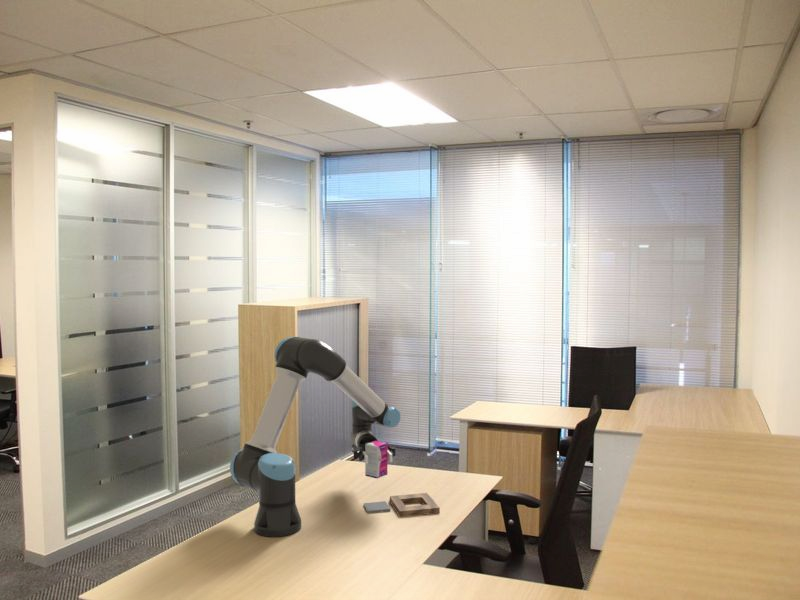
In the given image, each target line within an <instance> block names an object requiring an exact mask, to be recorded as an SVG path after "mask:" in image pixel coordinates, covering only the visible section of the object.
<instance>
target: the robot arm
mask: <svg viewBox="0 0 800 600" xmlns="http://www.w3.org/2000/svg"><path fill="white" fill-rule="evenodd" d="M274 361H275V363H276V364H275V367H274V369H275V372H276V376H275V379H274V381H273V384H272V386H271V389H270V391H269V394H268V396H267V399H266V402H265V403H264V404H265V405H264V407H263V409H262V411H261V415H260V416H259V419H258V422H257V424H256V426H255V429H254V432H253V434H252V437H251V439H250V440H248V441H246V442H245V443H244V445H243V448H242V449H240V450H238V452H235V453H234V455H233V457H232V458H231V460H230V464H229V472H230V475H231V478H232V479H233V480H234V482H236V484H239V485H240V486H242V487H244V488H248V489H251V490H253V491H255V492H258V500H259V501H258V502H259V503H258V504H259V505H258V510H257V513H256V515H255V519H254V523H253V525H254V527H253V529H254V532H255V533H256V534H257V535H260V536H263V537H270V538H271V537H272V538H275V537H285V536H289V535H292V534H295V533H297V532H298V531H300V530H301V529H302V517H301V516H300V513H299V510H298V507H297V504H296V471H297V470H296V465H295V460H294V458H292V457H291V456H290V455H288V454H285V453H278V452H277V450H276V447H277V444H278V441H279V438H280V437H281V434H282V431H283V428H284V425H285V423H286V420H287V418H288V415H289V412H290V409H291V407H292V404H293V402H294V399H295V397H296V393H297V391H298V389H299V386H300V384H301V383H302V382H305V381H306V380H307V377H308V375H309V373H312V374H314V375H318V376H320V377H322V378H323V379H324V380H325V381H327V382H332V383H333V384H334V385H335V386H336V387H337V388H338V389H339V390H341V391H342V392H343V393H344V395H346V396H347V397H348V398H350V400H352V401H351V402H352V404H351V406H352V407H351V415H352V416H351V417H352V420H351V421H352V425H351V427H352V428H351V431H350V436H351V437H350V438H351V440H352V442H353V443H354V444H351V453H353V459H358V461H359V462H362V461H363V462H364V463H366V464H368V455H367V454H366V453H365V444H367V443H370V442H373V441H379V440H378V439H377V437H376V436H375V435H374V434H373V432H372V431H373V425H376V426H381V427H384V428H390V429H391V428H396V427H398V425H399V423H400V422H401V418H402V417H401V412H400V409H398V408H396V407H394V406H389V405H388V404H387V403H386V402H385V401H384V400H383V399H382V398H381V397H379V395H377V393H376V392H374V391H373V390H372V388H370V386H369V385H367V383H365V382H364V381H363V380H362V379H361V378H360V377H359V376H358V375H357V374H356V373H355V372H354V371H353V370H352V369H351V368H350V367H349V366H347V360H345V359H344V358H343V357H342V355H340V354H339V353H338V352H337V351H336V350H335V349H333V347H331V346H330V345H329V344H327V343H326V342H324V341H322V340H319V339H316V338H315V339H314V338H306V337H300V336H290V337H286V338H284V339H282V340H281V341H280V342H278V343H277V346H276V348H275V351H274ZM385 443H387V444H388V448H387V461H389V463H393V459H394V456H396V455H397V454H396V450H397V448H395V447H394V446H392V445H390V444H389V442H386V441H385Z"/></svg>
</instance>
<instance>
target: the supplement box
mask: <svg viewBox="0 0 800 600" xmlns="http://www.w3.org/2000/svg"><path fill="white" fill-rule="evenodd" d="M387 443H388V442H387ZM387 443H386V442H383V441H379V440H378V441H373V442H370V443H367V444H365V453H366V454H367V455H368V464H366V463H365V462H364V463H365V470H364V471H365V477H369V478H373V479H379V478H383V477H385V476H387V475H388V459H387V448H388V444H389V443H388V444H387Z"/></svg>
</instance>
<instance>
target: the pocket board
mask: <svg viewBox="0 0 800 600" xmlns="http://www.w3.org/2000/svg"><path fill="white" fill-rule="evenodd" d="M389 502H390V504H391V503H392V504H391V505H392V507H393V506H394V507H393V508H394V509H396V510H395V511H396V513H397V512H398V513H397V514H398V515H400V516H401V517H408V516H410V515H411V516H419V515H420V514H422V515H428V514H427V513H432V514H440V506H439V505H438V504H437V503H436V502H435V501H434V499H433V498H432V497H431V496H430V495H429V493H428V492H422V493H412V494H402V495H401V494H399V495H389ZM416 502H417V503H422V505H421V504H419V505H409V506H406V504H415V503H416ZM405 503H406V504H405ZM417 503H416V504H417ZM400 516H399V517H400Z"/></svg>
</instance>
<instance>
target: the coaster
mask: <svg viewBox="0 0 800 600" xmlns="http://www.w3.org/2000/svg"><path fill="white" fill-rule="evenodd" d="M363 507H364V509H365V508H366V509H365V511H366V510H367V511H366V513H367V512H368V513H367V514H370V513H369V512H375V513H382V512H381V511H386V512H391V507H390V506H389V504H388V503H387V501H385V500H384V501H373V502H372V501H371V502H364V503H363Z"/></svg>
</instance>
